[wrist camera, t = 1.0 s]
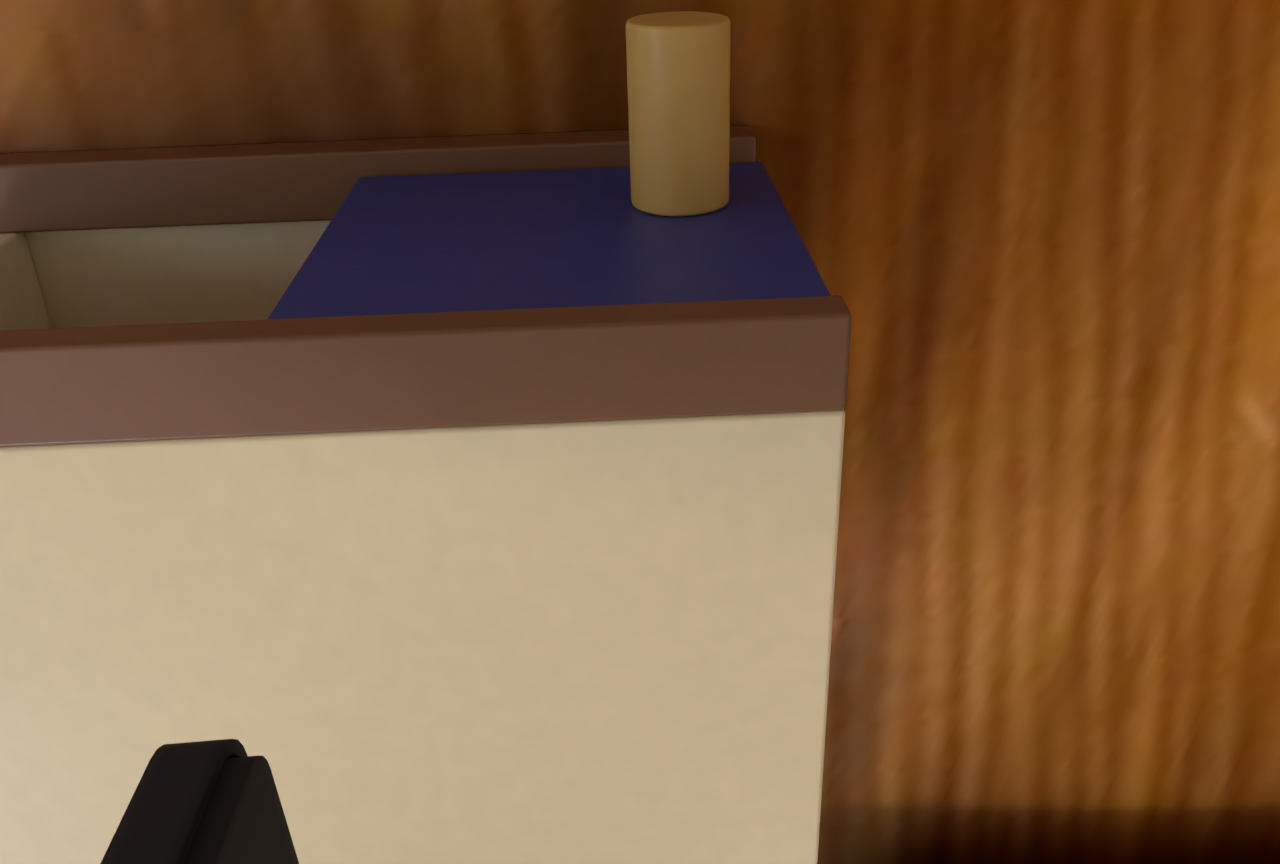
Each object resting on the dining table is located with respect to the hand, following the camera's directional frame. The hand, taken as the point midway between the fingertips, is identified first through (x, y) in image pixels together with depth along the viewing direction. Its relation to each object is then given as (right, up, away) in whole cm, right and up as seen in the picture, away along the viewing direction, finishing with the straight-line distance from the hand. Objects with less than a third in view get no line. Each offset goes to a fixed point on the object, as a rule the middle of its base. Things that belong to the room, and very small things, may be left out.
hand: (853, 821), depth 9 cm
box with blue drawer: (-8, +5, +20) cm, 23 cm away
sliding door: (-4, +10, +16) cm, 20 cm away
